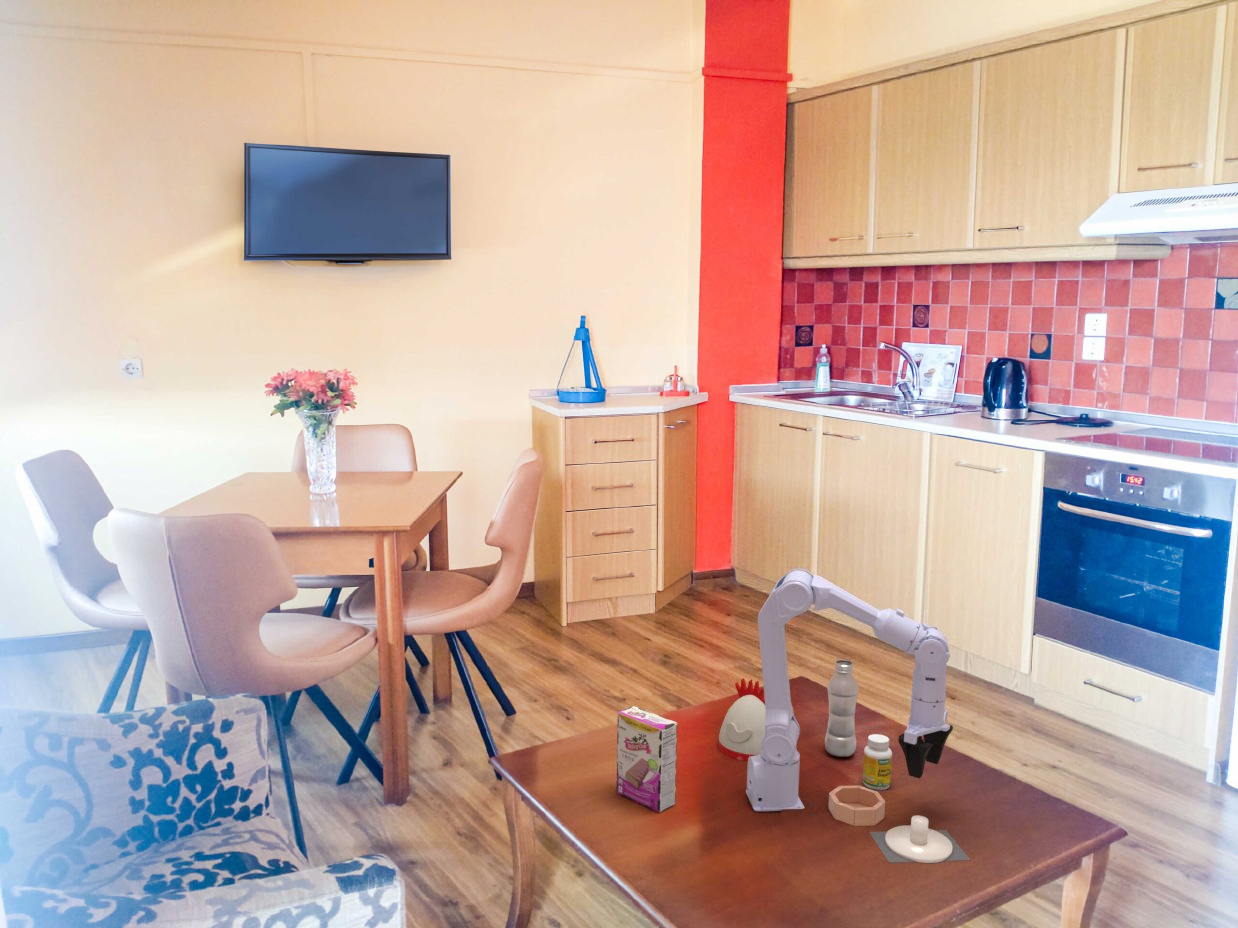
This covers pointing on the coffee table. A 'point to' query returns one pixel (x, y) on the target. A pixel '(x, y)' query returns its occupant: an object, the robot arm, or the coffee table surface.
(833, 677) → the plastic bottle
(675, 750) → the candy bar box
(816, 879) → the coffee table surface
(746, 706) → the white and red dome
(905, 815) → the coffee table surface
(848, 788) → the bowl
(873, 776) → the supplement bottle
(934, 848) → the lid
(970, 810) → the coffee table surface
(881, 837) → the mat
